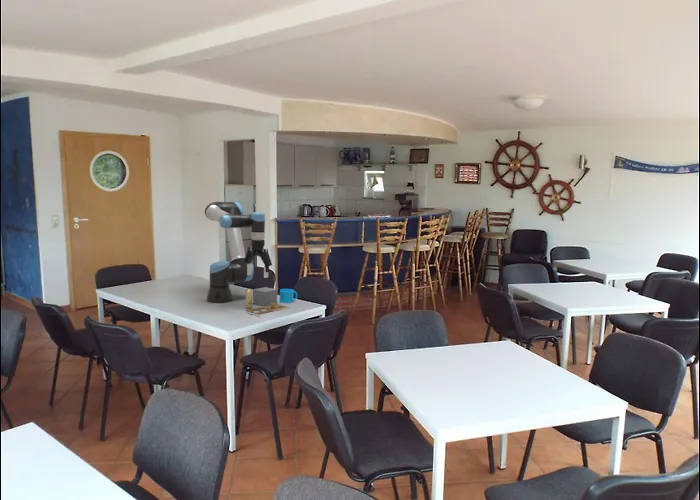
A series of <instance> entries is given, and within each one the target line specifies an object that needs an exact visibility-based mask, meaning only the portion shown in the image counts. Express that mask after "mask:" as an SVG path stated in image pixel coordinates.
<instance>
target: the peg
mask: <svg viewBox="0 0 700 500" xmlns="http://www.w3.org/2000/svg"><path fill="white" fill-rule="evenodd" d="M252 305H253V289H252V288H247V289H245V310H250V309H253V307H252Z"/></svg>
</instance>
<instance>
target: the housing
mask: <svg viewBox="0 0 700 500" xmlns="http://www.w3.org/2000/svg"><path fill="white" fill-rule="evenodd" d="M271 303H275V304H278V289H277V288H276V289H275V288H272V287H271V288H270V287H266V286H264V287H259V288H258V287H257V288H253V289H252V305H253V304H255V305H259V306H260V307H266V306H270V305H271Z"/></svg>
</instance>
